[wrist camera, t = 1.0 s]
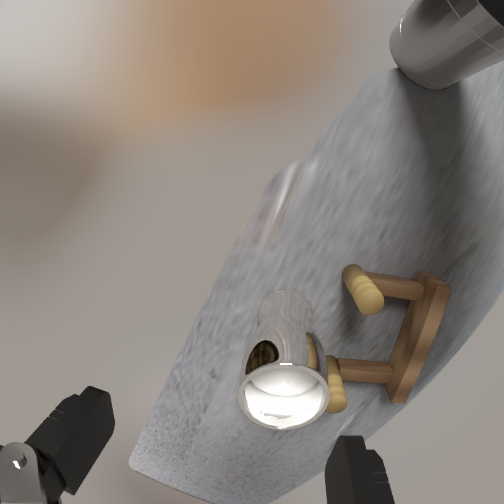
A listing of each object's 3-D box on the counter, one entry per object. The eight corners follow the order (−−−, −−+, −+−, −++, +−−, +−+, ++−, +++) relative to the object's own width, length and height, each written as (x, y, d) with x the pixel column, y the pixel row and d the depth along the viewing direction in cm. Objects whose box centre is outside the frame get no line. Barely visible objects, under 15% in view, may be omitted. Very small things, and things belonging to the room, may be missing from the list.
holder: (345, 258, 32) (363, 282, 25) (432, 273, 32) (465, 298, 24) (314, 373, 36) (320, 415, 28) (394, 379, 35) (412, 418, 28)
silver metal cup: (270, 274, 34) (260, 345, 19) (326, 300, 34) (351, 381, 19) (244, 325, 35) (220, 413, 21) (297, 349, 35) (302, 441, 21)
